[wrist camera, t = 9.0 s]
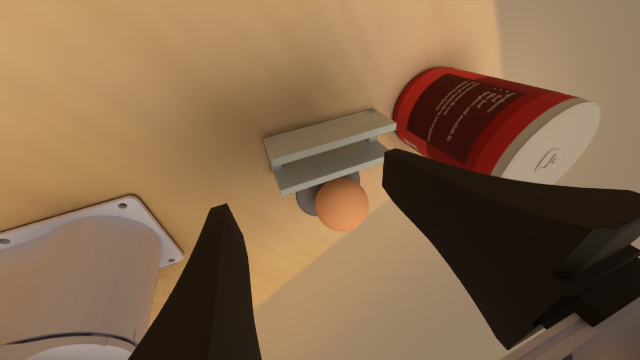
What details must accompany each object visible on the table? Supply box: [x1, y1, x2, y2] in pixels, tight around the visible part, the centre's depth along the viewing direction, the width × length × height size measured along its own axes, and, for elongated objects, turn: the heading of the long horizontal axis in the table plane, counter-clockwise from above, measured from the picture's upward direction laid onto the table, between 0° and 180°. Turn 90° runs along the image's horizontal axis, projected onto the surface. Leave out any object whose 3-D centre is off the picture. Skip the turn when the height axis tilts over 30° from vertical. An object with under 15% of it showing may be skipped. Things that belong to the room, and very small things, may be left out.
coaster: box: [296, 171, 360, 216], centre depth 24 cm, size 7×7×1 cm
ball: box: [315, 178, 368, 231], centre depth 22 cm, size 5×5×5 cm
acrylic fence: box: [263, 109, 396, 196], centre depth 19 cm, size 10×3×4 cm, turn 98°
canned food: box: [394, 67, 601, 185], centre depth 19 cm, size 8×8×11 cm
